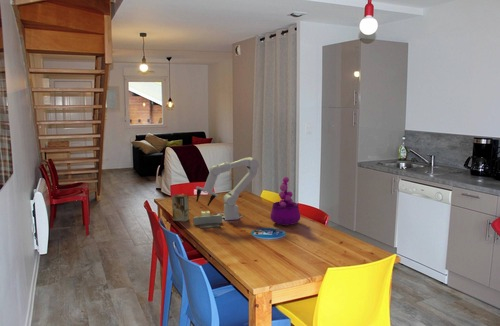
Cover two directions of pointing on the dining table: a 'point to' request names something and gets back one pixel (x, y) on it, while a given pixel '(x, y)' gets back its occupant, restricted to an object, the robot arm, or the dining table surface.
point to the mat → (209, 225)
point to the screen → (207, 219)
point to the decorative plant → (285, 207)
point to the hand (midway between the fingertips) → (202, 203)
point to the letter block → (205, 213)
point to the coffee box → (180, 207)
